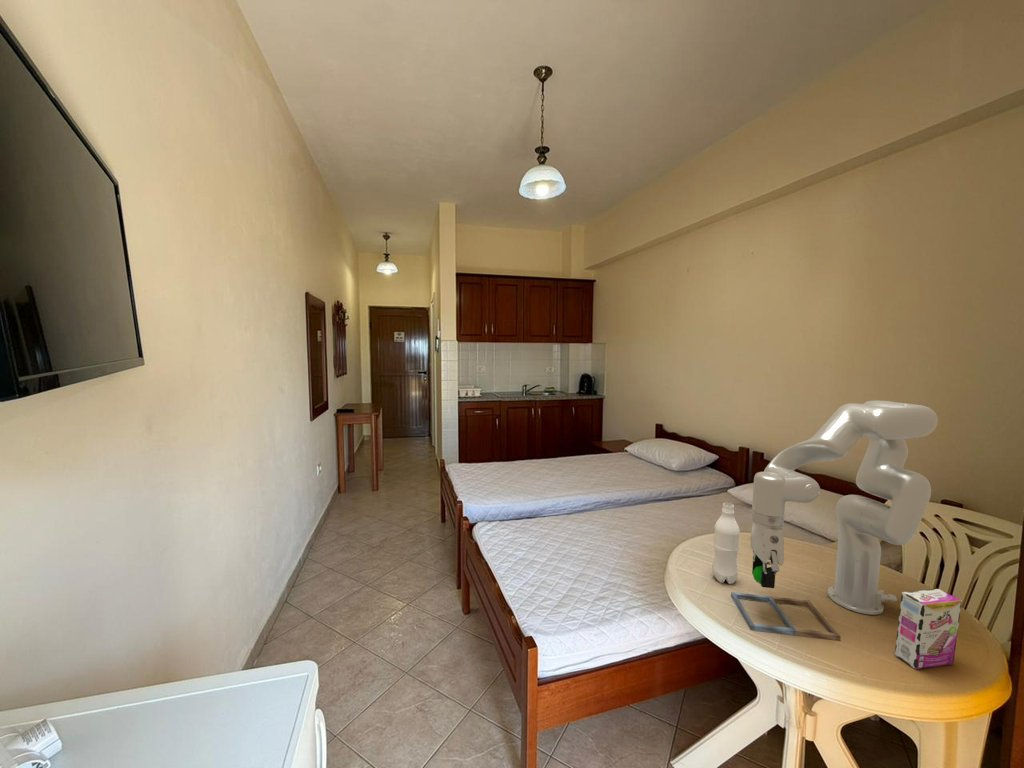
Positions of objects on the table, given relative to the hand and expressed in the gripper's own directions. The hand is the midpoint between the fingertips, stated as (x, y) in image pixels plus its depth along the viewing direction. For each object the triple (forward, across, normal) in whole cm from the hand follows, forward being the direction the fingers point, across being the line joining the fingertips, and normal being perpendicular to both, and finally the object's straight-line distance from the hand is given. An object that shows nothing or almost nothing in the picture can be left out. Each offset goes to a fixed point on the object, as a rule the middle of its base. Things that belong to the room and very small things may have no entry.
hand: (762, 580), depth 112 cm
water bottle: (+10, +17, +4) cm, 20 cm away
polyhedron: (+1, 0, 0) cm, 1 cm away
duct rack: (+10, 0, -5) cm, 11 cm away
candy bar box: (+10, -11, -32) cm, 35 cm away
